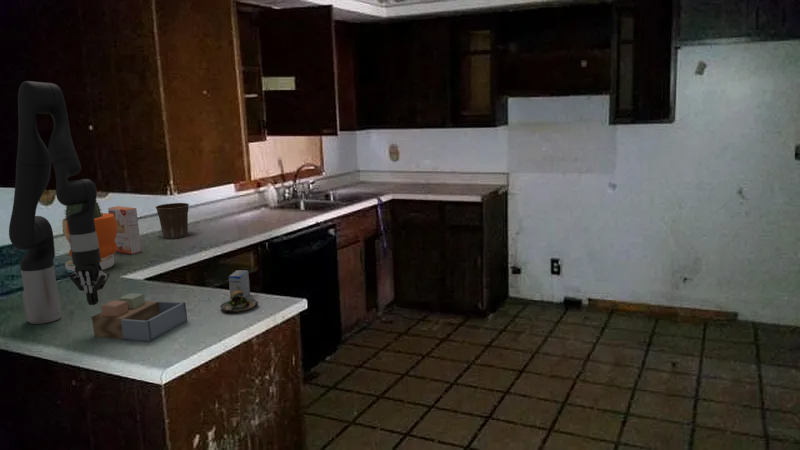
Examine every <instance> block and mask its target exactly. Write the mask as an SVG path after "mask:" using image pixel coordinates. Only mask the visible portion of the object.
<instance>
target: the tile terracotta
mask: <svg viewBox="0 0 800 450" xmlns="http://www.w3.org/2000/svg"><path fill="white" fill-rule="evenodd" d="M100 306H101V313H102V316H115V317H117V316H119V315H121V314H123V313H125V312H128V305H127V301H119V300H111V301H109V302H107V303H104V304H103V305H100Z"/></svg>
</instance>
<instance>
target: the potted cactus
mask: <svg viewBox="0 0 800 450" xmlns="http://www.w3.org/2000/svg"><path fill="white" fill-rule="evenodd" d="M99 203H100V202H98V199H96V203H95V210H94V222H95V229H96V234H97V237H98V243H99V250H100V257H101V261H100V266H101V268H102V271H103V270H106V269H108V268H111V267H112V266H114V265H115V261H114V260H115V259H114V254H115V253H116V250H117V244H116V242H115V238H116V235H117V222H116V218H115V216H114V214H110V213H109V212H108V213H107V212H102V211H103V209H102V206H101V204H99ZM81 207H82V204H77V205H71V206H65V209H64V210H63V213H64V215H65V216H64V218H63V219H62V222H61V223H62V226H61V227H62V234H63V235H64V237H65V239H66V240H67V242H68V243H69V244H70V235H69V228H68V221H67V217H68V216H69V215H70V214H72V213H75V212H77V211H79V210H80V209H81ZM68 254H69V256H70V257H71V258H72V254H71V248H70V249H69V251H68ZM64 265H65V270H66V269H68V270H72V271H75V266H68V265H74V264H73V261H72V259H71V260H68V261H67V262H65V264H64Z"/></svg>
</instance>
